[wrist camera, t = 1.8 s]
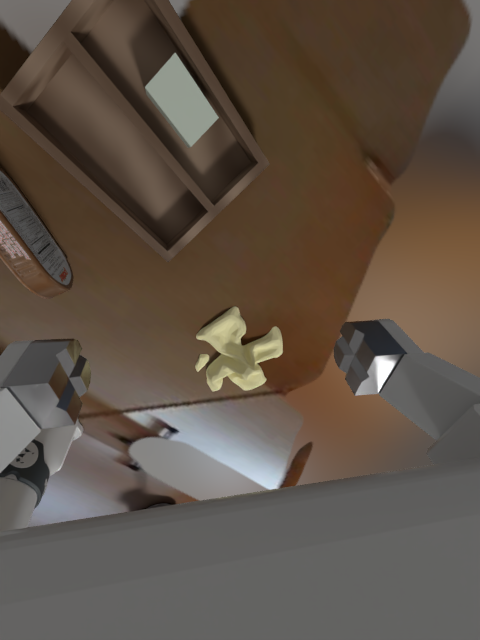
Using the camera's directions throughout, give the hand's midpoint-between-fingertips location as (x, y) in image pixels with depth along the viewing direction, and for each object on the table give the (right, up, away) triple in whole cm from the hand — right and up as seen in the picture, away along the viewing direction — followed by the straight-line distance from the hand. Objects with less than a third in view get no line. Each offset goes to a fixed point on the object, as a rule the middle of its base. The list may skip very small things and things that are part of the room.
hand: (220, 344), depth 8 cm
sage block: (-6, +24, +20) cm, 32 cm away
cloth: (-1, -7, +43) cm, 44 cm away
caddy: (-9, +21, +22) cm, 32 cm away
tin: (-24, +12, +23) cm, 36 cm away
